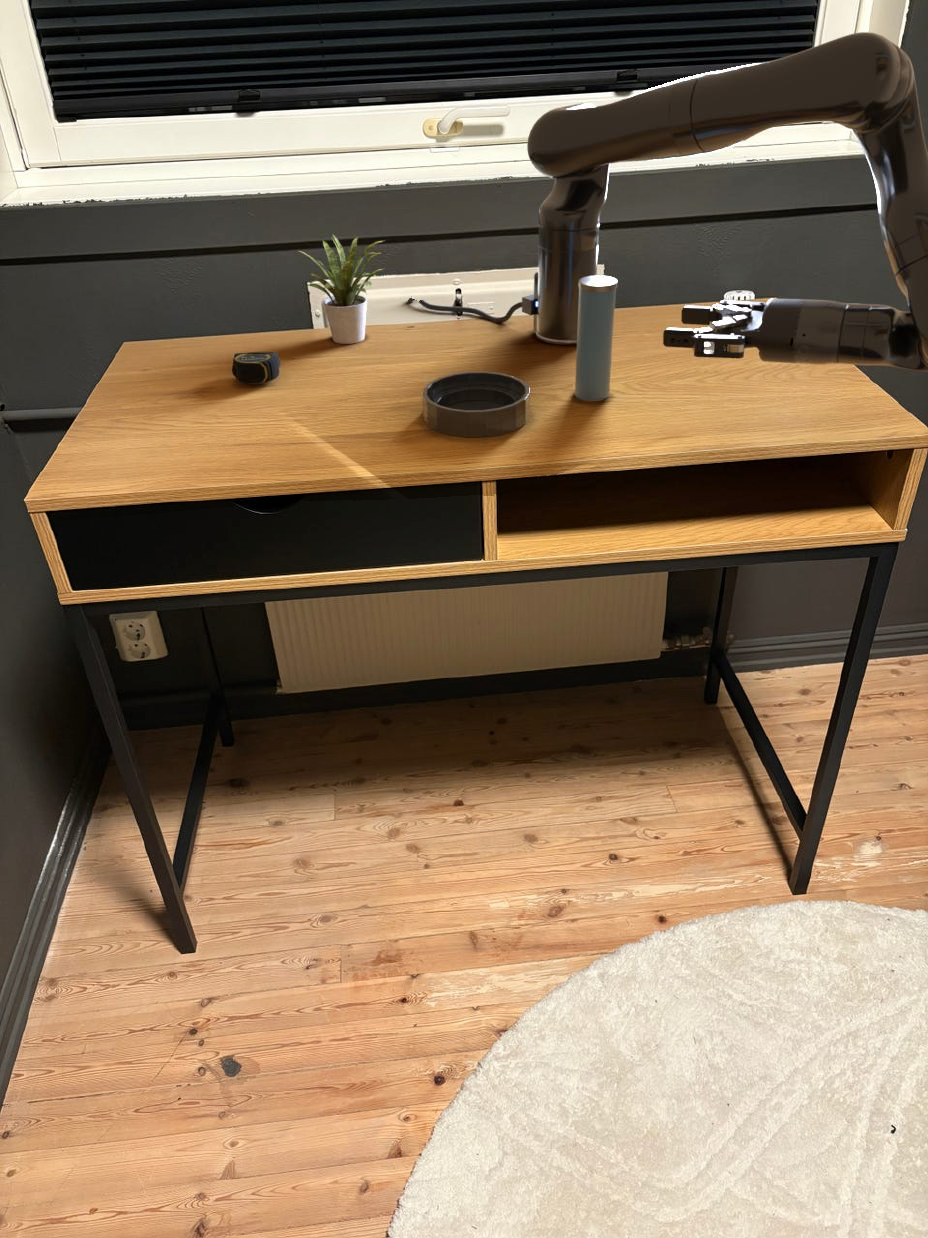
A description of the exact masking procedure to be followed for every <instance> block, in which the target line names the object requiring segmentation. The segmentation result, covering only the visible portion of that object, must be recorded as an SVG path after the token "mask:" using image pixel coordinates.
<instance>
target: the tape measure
mask: <svg viewBox="0 0 928 1238" xmlns="http://www.w3.org/2000/svg"><path fill="white" fill-rule="evenodd" d="M280 367H281V359H280V356H279V355H278V353H277V352H274V351H250V352H237V353H234V354H233V358H232V366H231V373H232V375H233V376H234V377H235V380H236V381H238V382H240V383H242V384H249V385H250V384H251V385H262V384H266V383H268V382H271V381H273V380H275V379H276V378H278V376H279V375H280Z"/></svg>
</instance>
